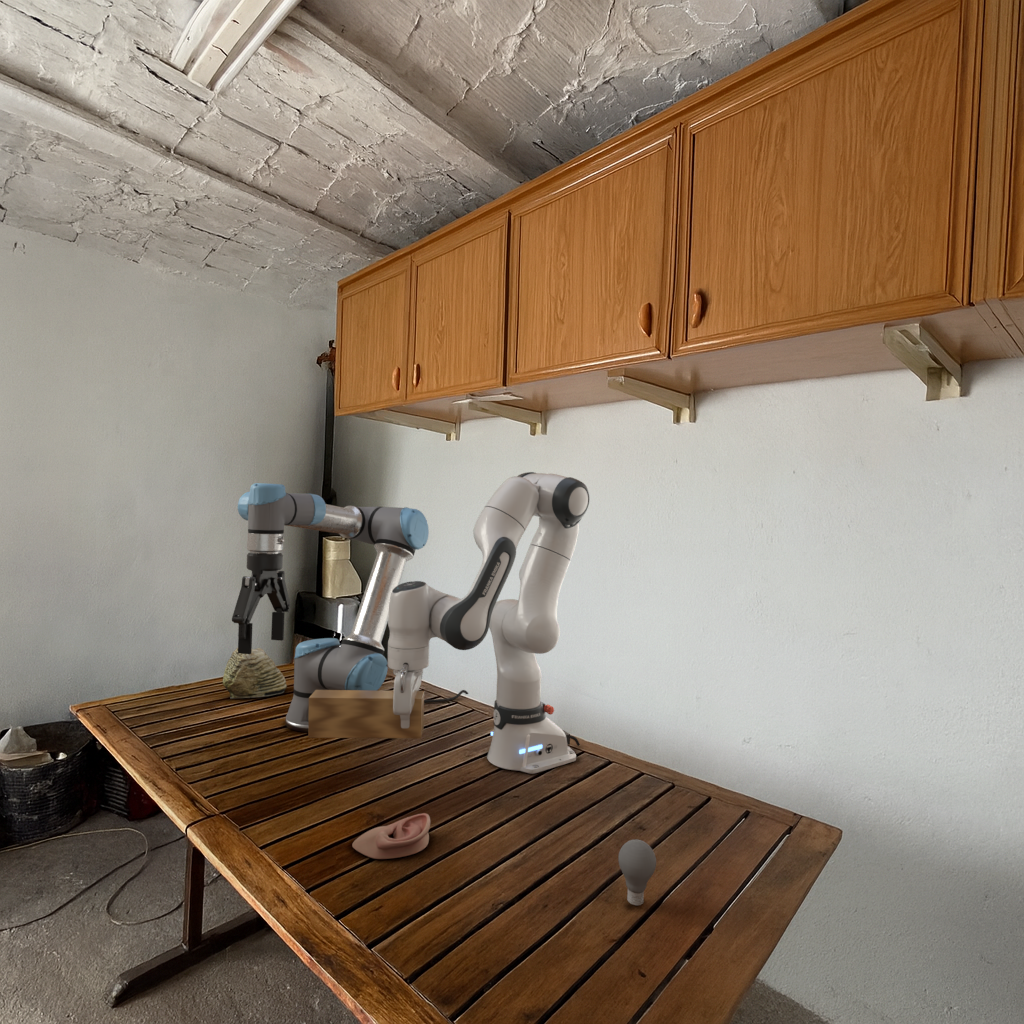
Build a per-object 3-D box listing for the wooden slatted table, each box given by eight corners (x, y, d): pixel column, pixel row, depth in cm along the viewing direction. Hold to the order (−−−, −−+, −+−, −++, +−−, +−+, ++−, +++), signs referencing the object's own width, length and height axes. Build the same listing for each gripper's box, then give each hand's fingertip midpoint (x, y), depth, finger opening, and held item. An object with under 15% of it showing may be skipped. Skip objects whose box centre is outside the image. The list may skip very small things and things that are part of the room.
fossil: (218, 695, 195) (220, 647, 195) (278, 685, 208) (279, 640, 207) (228, 703, 189) (230, 653, 188) (289, 692, 201) (290, 645, 201)
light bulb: (612, 891, 105) (615, 832, 105) (647, 891, 106) (650, 832, 105) (621, 915, 99) (624, 852, 99) (659, 914, 100) (662, 852, 99)
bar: (308, 737, 133) (308, 697, 133) (315, 728, 138) (315, 689, 138) (420, 738, 134) (421, 698, 134) (423, 729, 139) (424, 690, 139)
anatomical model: (345, 832, 112) (372, 802, 124) (344, 854, 113) (371, 822, 124) (415, 843, 110) (436, 812, 121) (414, 866, 110) (436, 832, 121)
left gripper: (249, 557, 129) (245, 661, 129) (307, 549, 154) (303, 636, 154) (215, 555, 130) (212, 658, 130) (278, 547, 155) (274, 633, 155)
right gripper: (417, 671, 126) (416, 740, 126) (427, 646, 146) (426, 705, 147) (385, 671, 126) (385, 740, 126) (400, 646, 146) (399, 705, 146)
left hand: (261, 646), depth 142 cm, fingers open, 13 cm apart
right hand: (407, 721), depth 136 cm, fingers closed on bar, 5 cm apart
